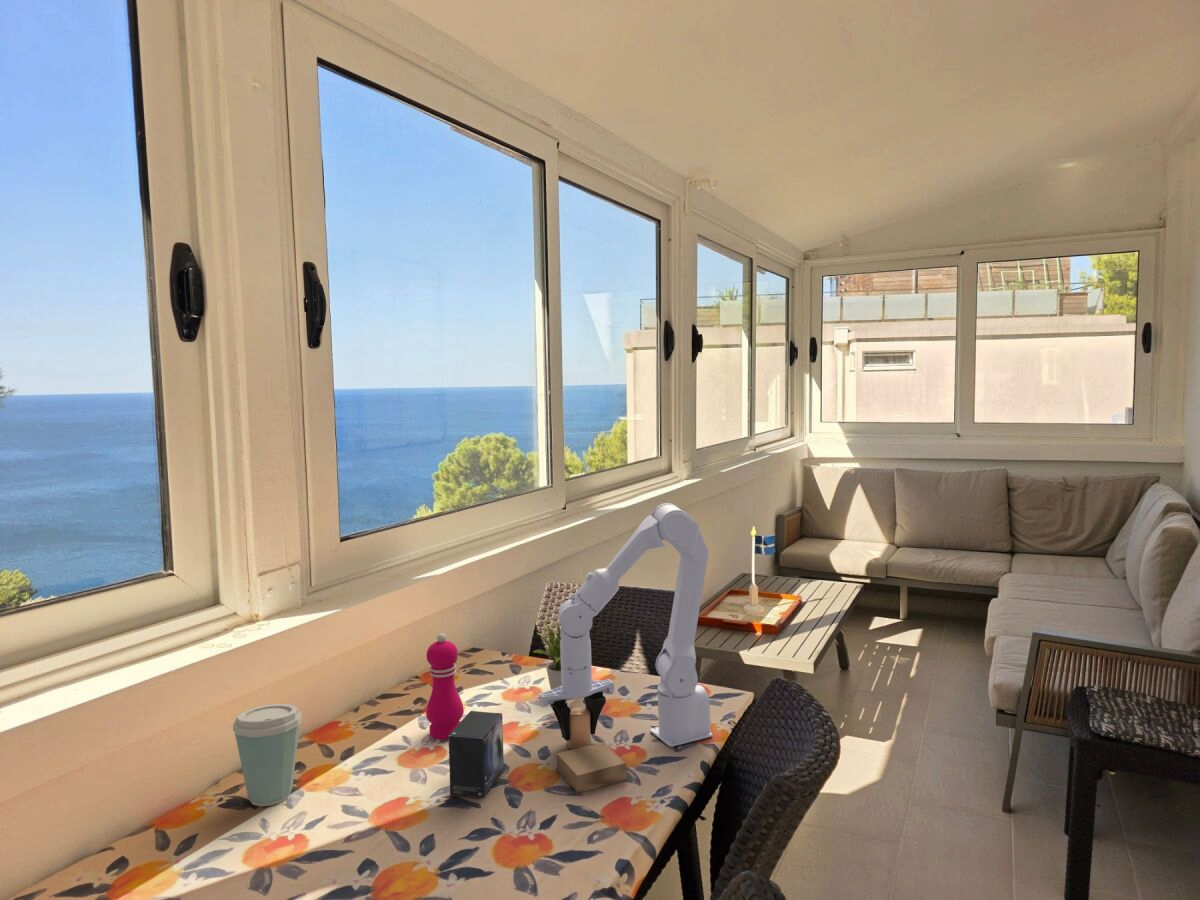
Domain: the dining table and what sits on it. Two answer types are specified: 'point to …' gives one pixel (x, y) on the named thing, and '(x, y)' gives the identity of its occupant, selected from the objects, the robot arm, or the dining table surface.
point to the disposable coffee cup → (268, 751)
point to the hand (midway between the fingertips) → (578, 735)
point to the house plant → (553, 656)
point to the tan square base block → (591, 767)
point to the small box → (476, 754)
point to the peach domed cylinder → (579, 728)
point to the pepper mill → (443, 689)
